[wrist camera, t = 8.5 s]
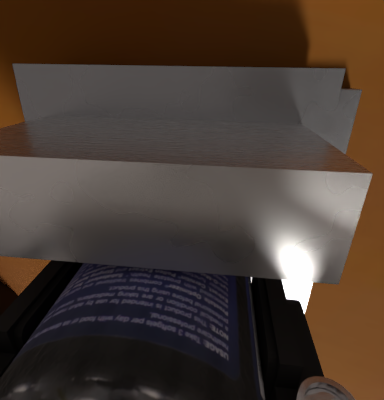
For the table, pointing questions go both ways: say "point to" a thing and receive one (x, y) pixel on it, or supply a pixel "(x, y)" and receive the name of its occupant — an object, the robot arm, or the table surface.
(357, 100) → the vise base
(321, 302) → the table surface
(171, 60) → the table surface
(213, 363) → the pill bottle
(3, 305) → the water bottle
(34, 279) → the robot arm
